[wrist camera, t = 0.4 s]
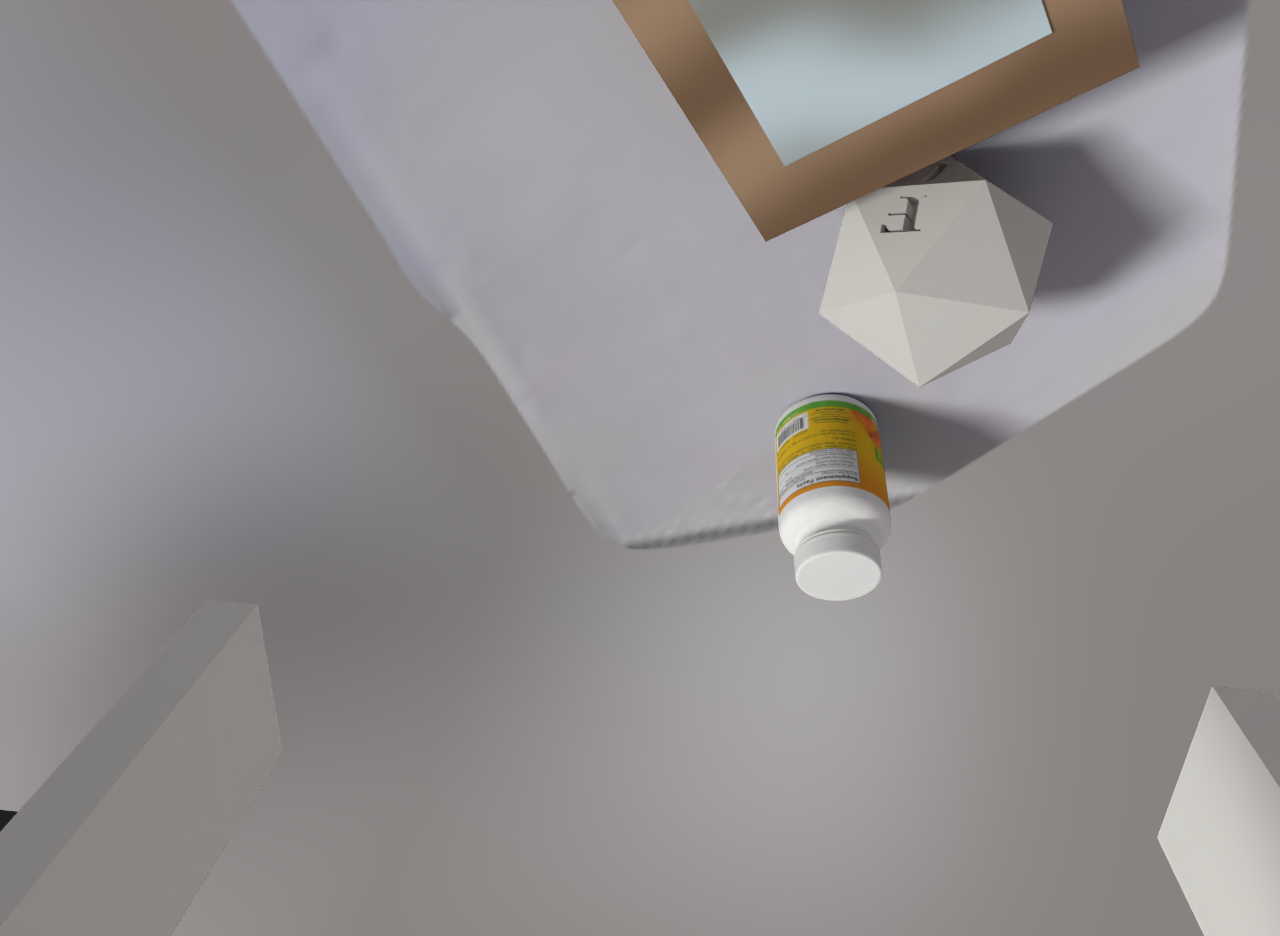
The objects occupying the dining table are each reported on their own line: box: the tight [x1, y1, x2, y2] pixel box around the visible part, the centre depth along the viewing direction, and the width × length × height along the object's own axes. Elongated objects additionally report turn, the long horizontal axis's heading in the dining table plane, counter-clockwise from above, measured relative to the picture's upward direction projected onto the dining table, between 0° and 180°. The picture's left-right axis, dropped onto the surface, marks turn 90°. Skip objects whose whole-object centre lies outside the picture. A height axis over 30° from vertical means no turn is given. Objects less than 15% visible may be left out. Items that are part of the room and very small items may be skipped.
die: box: [819, 156, 1053, 387], centre depth 39 cm, size 8×9×10 cm
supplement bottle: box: [775, 394, 891, 601], centre depth 49 cm, size 5×5×10 cm
